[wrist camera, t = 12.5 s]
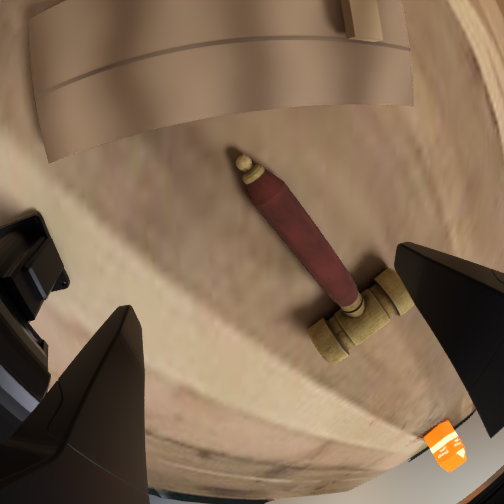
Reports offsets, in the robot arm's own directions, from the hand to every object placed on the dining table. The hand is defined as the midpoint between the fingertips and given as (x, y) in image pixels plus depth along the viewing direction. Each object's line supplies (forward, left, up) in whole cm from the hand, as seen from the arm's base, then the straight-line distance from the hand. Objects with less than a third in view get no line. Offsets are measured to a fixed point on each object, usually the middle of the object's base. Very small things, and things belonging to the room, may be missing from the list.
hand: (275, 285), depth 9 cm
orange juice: (+60, -98, -12) cm, 116 cm away
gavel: (+6, -8, -13) cm, 16 cm away
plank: (+1, +9, -12) cm, 15 cm away
